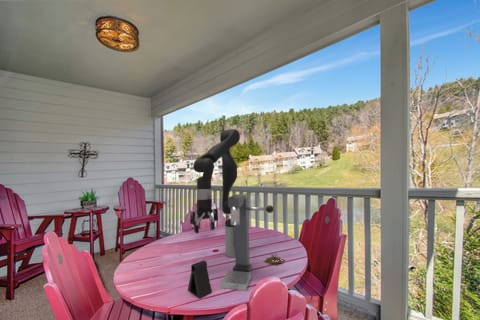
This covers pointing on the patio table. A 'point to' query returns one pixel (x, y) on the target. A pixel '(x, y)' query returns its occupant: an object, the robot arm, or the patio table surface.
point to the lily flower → (274, 260)
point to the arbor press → (241, 243)
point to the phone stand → (199, 280)
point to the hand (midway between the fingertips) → (204, 231)
